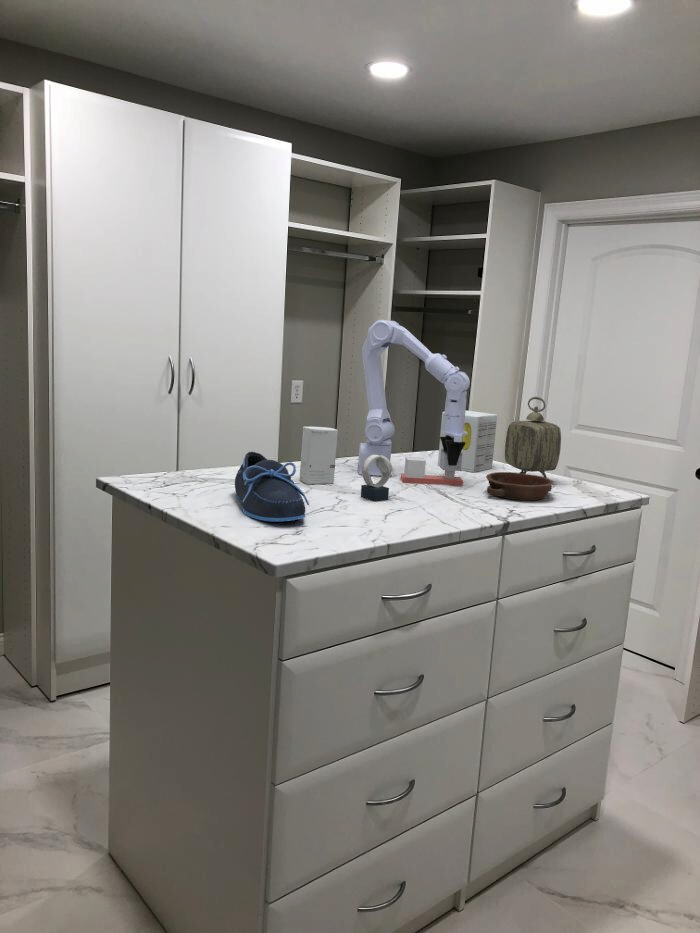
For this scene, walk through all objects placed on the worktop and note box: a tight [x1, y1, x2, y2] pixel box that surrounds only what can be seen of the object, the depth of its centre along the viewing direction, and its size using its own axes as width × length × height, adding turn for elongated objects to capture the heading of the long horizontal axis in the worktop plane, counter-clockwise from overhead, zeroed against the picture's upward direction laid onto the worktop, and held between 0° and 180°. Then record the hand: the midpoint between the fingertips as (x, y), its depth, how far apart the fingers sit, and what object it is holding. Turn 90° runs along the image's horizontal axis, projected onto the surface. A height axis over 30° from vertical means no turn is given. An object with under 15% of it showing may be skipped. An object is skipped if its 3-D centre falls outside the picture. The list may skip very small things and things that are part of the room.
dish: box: [486, 471, 554, 502], centre depth 204 cm, size 18×22×5 cm
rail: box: [400, 456, 464, 487], centre depth 214 cm, size 17×5×6 cm, turn 94°
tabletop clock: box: [504, 396, 562, 480], centre depth 224 cm, size 14×9×25 cm, turn 31°
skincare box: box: [299, 426, 339, 485], centre depth 204 cm, size 8×6×15 cm
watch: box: [360, 455, 393, 503], centre depth 189 cm, size 6×8×11 cm
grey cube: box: [439, 450, 462, 472], centre depth 214 cm, size 5×5×5 cm
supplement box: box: [437, 410, 498, 473], centre depth 241 cm, size 13×13×18 cm
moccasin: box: [234, 451, 310, 523], centre depth 172 cm, size 14×34×12 cm, turn 27°
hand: (450, 463), depth 214 cm, fingers closed on grey cube, 5 cm apart
